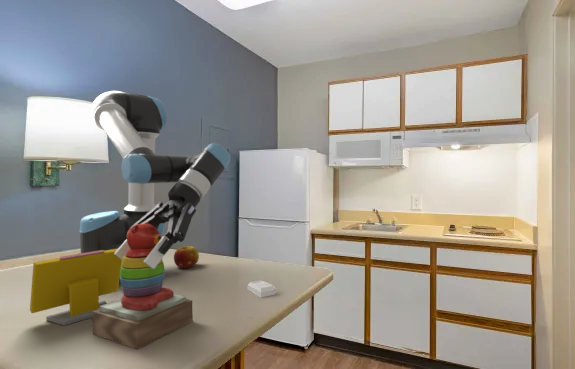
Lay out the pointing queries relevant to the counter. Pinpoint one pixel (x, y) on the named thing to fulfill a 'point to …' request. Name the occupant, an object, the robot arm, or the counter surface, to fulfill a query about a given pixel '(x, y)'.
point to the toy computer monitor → (74, 284)
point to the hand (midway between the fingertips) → (132, 261)
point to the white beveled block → (261, 288)
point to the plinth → (141, 321)
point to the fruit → (186, 257)
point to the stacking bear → (142, 270)
